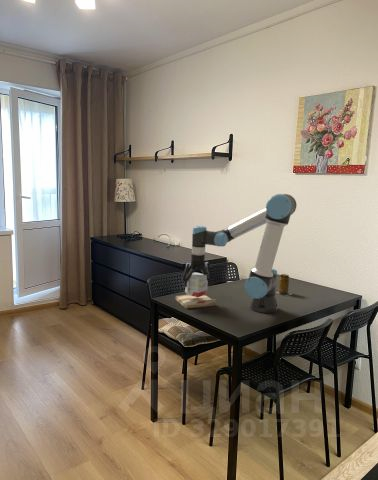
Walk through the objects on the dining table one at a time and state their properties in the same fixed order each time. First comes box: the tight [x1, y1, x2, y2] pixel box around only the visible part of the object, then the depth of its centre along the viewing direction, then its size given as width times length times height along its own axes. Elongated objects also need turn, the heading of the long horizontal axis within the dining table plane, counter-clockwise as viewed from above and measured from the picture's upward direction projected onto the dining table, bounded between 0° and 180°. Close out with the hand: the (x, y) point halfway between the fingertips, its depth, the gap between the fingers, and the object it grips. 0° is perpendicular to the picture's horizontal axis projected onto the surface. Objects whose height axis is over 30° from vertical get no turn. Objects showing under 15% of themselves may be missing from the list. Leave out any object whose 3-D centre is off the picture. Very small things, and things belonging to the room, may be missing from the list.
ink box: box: [185, 271, 208, 297], centre depth 209 cm, size 9×9×12 cm
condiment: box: [275, 273, 293, 297], centre depth 236 cm, size 7×8×12 cm
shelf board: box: [174, 294, 217, 309], centre depth 211 cm, size 16×18×3 cm
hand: (196, 291), depth 210 cm, fingers closed on ink box, 11 cm apart
